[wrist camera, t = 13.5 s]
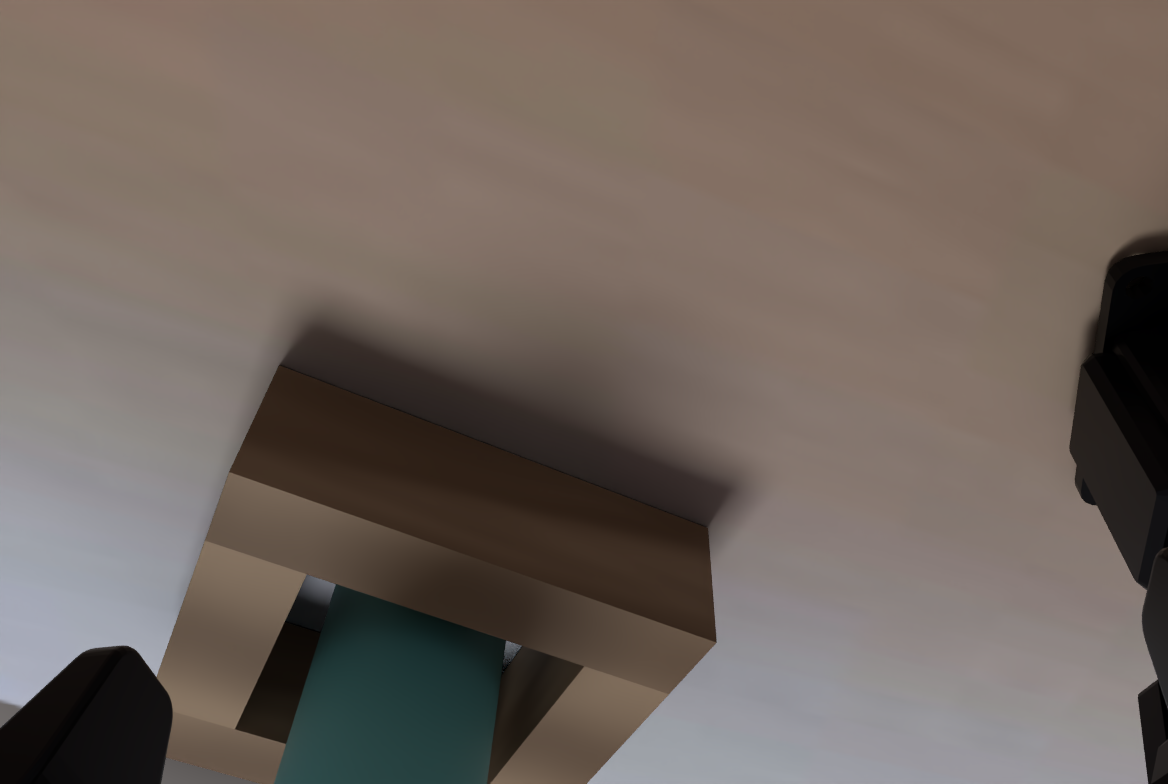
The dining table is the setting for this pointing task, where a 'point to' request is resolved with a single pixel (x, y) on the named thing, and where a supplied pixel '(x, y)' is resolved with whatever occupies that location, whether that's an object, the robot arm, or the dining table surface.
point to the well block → (431, 584)
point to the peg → (394, 699)
